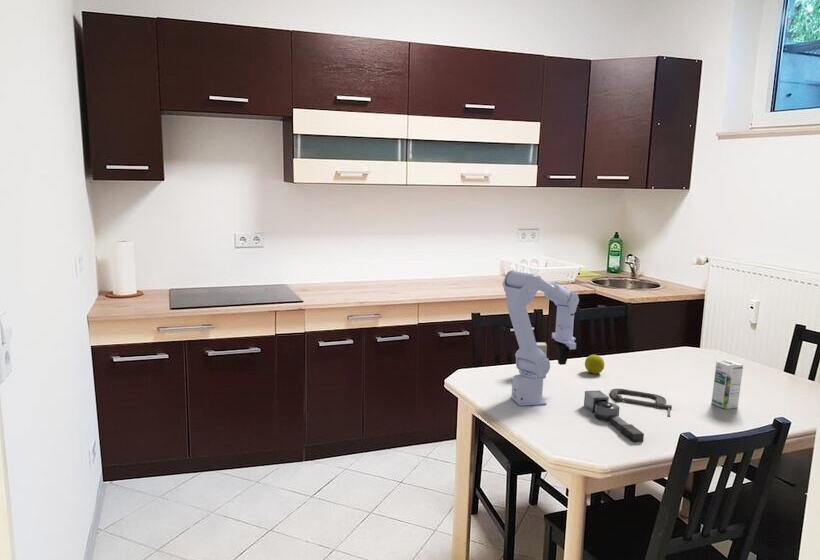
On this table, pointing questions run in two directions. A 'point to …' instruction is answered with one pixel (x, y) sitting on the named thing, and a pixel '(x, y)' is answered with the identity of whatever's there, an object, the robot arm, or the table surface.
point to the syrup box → (727, 384)
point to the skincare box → (542, 347)
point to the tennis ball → (594, 364)
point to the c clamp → (659, 400)
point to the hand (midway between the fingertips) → (561, 364)
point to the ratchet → (616, 420)
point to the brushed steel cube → (593, 399)
